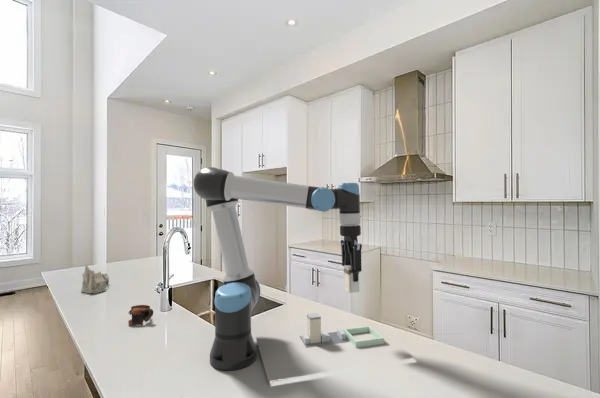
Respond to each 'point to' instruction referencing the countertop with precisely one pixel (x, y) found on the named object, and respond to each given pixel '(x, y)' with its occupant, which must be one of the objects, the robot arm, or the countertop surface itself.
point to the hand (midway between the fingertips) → (352, 288)
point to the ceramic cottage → (94, 281)
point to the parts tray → (366, 342)
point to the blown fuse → (348, 278)
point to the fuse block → (325, 338)
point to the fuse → (314, 327)
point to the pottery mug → (140, 314)
